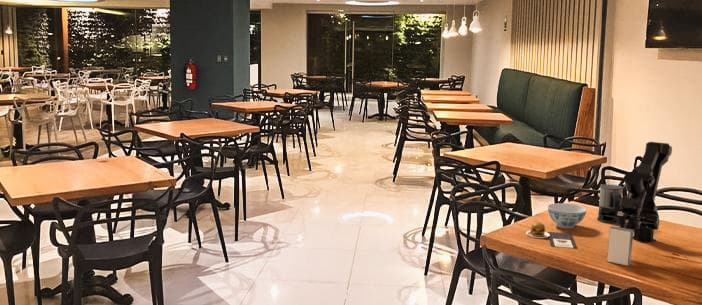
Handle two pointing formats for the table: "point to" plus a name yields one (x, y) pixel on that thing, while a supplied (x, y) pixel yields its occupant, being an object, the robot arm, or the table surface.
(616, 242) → the ceramic tile
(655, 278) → the table surface
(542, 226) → the hamburger
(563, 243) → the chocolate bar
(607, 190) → the milk frother
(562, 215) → the chinaware
